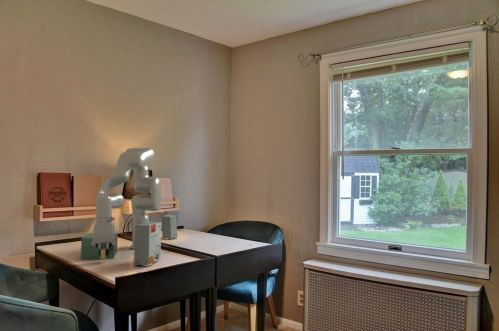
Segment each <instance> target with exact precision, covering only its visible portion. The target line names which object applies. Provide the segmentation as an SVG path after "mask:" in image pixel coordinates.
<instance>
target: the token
mask: <svg viewBox="0 0 499 331" xmlns="http://www.w3.org/2000/svg"><path fill="white" fill-rule="evenodd" d="M106 258H107V257H106V248H102V249H101V259H100V261H105V260H107V259H106Z"/></svg>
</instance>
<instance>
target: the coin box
mask: <svg viewBox="0 0 499 331" xmlns="http://www.w3.org/2000/svg"><path fill="white" fill-rule="evenodd" d="M118 235H119V233H118V232H115V240H116V242H117V243H116V244H114V245H112V246H111V247H110V248H109V255H108V256H107V258H106V259H105V260H107V259H108V260H110V259H115V257H116V255H117V254H118V238H119V237H118ZM80 238H81V240H80V242H81V245H80V247H81V248H80V260H101V257H100V255H99V249H98V248H97V247H96V246H94V245H91V242H92V240H93V232H88V233H86V234H84V235H83V236H82V237H80ZM102 248H106V243H102Z"/></svg>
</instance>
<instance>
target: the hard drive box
mask: <svg viewBox="0 0 499 331" xmlns="http://www.w3.org/2000/svg"><path fill="white" fill-rule="evenodd" d="M161 244H162V221H160V222H159V221H149V222H145V223H142V224H138V225H136V226H135V249H133V250H134V255H133V265H149V264H151V263H153V262H155V261H157V260H159V259H160V260H161V254H162V253H161V251H162V250H161V249H162V248H161V246H162V245H161Z"/></svg>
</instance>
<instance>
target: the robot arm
mask: <svg viewBox="0 0 499 331" xmlns="http://www.w3.org/2000/svg"><path fill="white" fill-rule="evenodd" d="M155 156H156V154H155V151H154V149H152V148H149V147H131V148H130V147H129V148H127V149H125V151H124V152H122V153H121V154H120V155H119V157H118V159H117V162H116V165H115V168H114V170H113V173H112V175H110V176H109V177H108V178H107V179H106V180H105V181H103V182H102V183H101V185H100V186H99V188H98V190H97V194H96V196H95V222H94V224H93V232H92V233H93V240H92V242H91V245H94V246H96V247H97V248H98V249H99V255H100V257H101V249H102V243H106V257H107V256H108V255H109V248H110V247H111V246H112V245H114V244H116V243H117V244H118V241H117V242H116V240H115V233H116V232H115V223H114V222H113V221H115V220H116V218H115V217H113V214H112V213H113V209H120V208H122V207H123V206H124V205H125V204H124V203H125V198H124V196H123V195H122V194H118V193H109V192H110V191H111V190H112V189H113V188H115V187H117V186H120V185H122V184H125V183H127V182H128V181H129V179H130V175H131V173H132V171H133V189H134V191H135V192H136V193H142V194H136V195H134V196H133V197H132V198H131V201H130V205H131V211H132V232H131V234H132V240H131V241H132V242H131V245H129V249H130V250H135V226H136V225H138V224H142V223H145V222H150V217H149V214H148V212H158V211H160V209H161V206H162V183H161V180H160V179H159V178H158V177H156V176H149V167H148V165H150V164H151V163H152V162H153V161H154V160H155ZM143 193H144V194H143Z"/></svg>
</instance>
